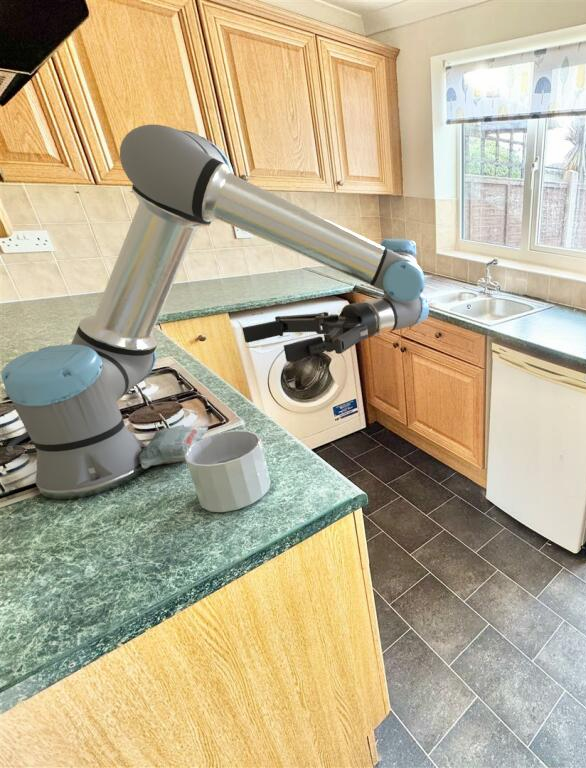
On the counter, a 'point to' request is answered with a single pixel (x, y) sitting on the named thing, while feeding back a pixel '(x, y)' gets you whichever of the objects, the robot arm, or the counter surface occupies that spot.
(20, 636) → the counter surface
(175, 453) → the packaged food
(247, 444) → the grey faceted pot
